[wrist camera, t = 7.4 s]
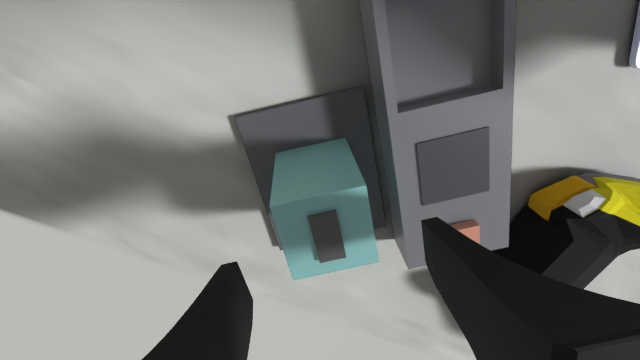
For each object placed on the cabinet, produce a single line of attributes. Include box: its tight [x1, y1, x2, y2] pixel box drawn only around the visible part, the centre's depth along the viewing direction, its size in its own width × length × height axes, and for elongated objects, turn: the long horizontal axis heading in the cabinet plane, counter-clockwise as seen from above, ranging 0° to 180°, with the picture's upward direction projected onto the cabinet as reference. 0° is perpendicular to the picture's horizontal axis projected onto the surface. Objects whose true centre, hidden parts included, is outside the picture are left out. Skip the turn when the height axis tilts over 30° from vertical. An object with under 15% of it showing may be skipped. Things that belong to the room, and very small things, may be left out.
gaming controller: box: [492, 173, 640, 289], centre depth 22 cm, size 15×6×10 cm
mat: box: [235, 86, 386, 250], centre depth 20 cm, size 7×9×1 cm
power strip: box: [359, 0, 517, 269], centre depth 18 cm, size 16×6×4 cm, turn 13°
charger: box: [270, 138, 379, 280], centre depth 17 cm, size 4×4×6 cm
